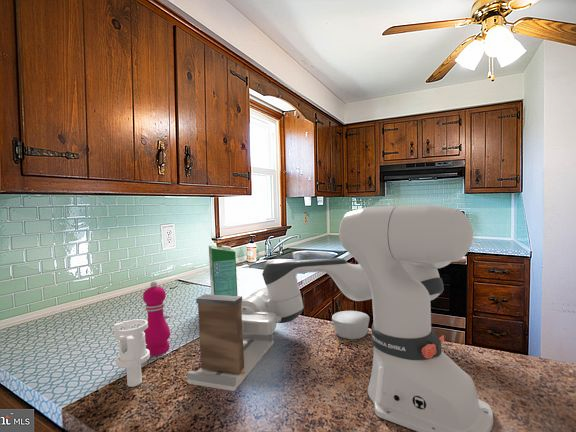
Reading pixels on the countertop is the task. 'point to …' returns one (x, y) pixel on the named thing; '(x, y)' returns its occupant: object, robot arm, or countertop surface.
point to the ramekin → (350, 324)
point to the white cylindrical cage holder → (132, 349)
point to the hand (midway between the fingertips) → (226, 333)
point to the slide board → (253, 353)
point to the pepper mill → (156, 320)
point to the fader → (221, 333)
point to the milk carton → (223, 271)
